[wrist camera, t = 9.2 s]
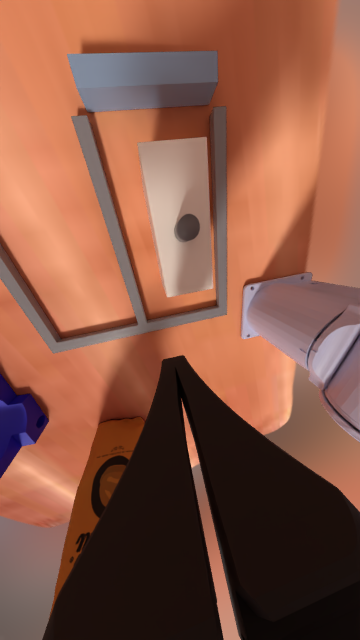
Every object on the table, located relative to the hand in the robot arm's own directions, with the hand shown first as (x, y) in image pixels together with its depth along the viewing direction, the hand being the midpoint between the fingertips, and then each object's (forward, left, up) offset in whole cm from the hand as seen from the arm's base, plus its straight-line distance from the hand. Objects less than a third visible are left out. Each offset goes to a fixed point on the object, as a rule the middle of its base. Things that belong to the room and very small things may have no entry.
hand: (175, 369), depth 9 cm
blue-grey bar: (-2, -17, -9) cm, 19 cm away
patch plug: (-2, -8, -10) cm, 12 cm away
